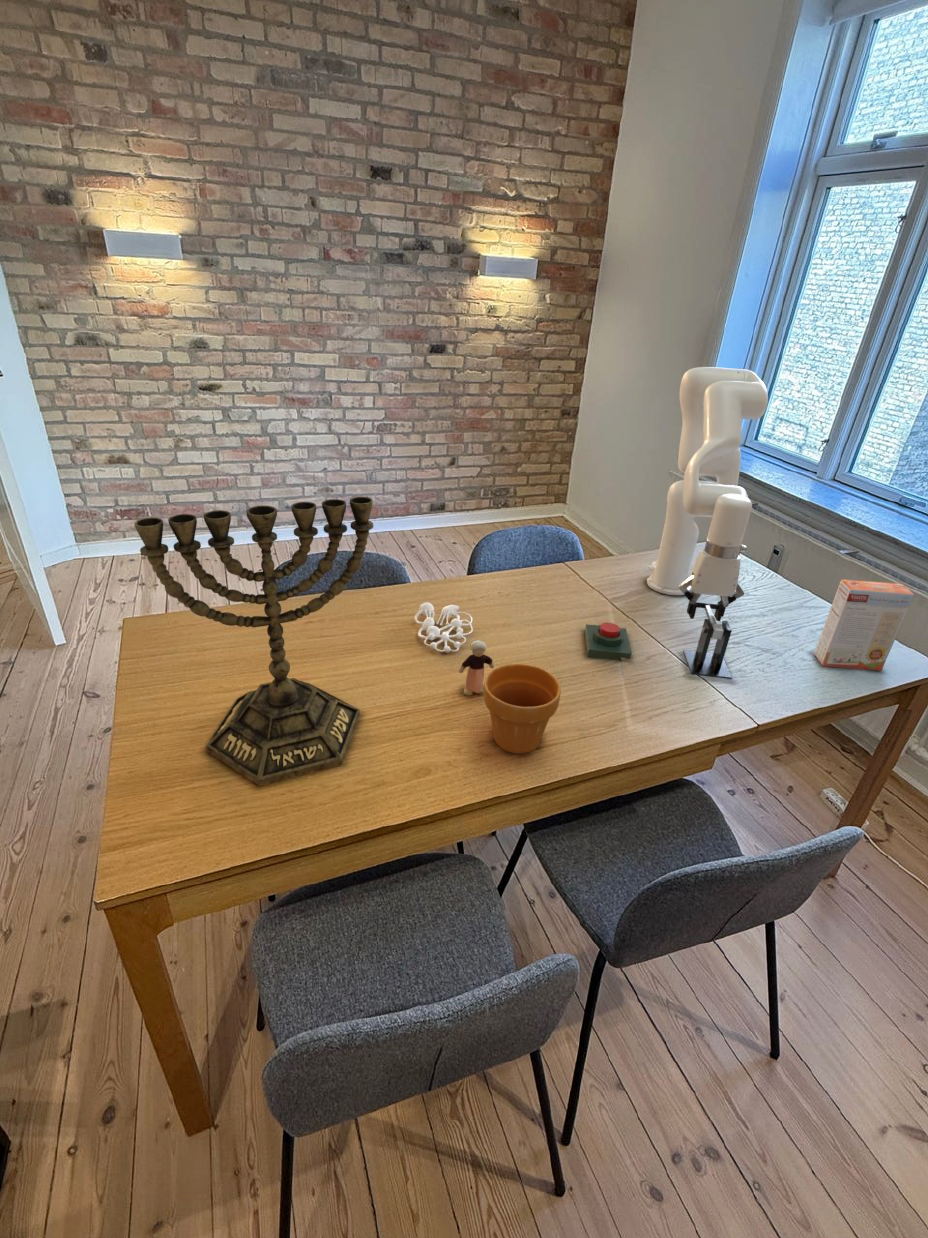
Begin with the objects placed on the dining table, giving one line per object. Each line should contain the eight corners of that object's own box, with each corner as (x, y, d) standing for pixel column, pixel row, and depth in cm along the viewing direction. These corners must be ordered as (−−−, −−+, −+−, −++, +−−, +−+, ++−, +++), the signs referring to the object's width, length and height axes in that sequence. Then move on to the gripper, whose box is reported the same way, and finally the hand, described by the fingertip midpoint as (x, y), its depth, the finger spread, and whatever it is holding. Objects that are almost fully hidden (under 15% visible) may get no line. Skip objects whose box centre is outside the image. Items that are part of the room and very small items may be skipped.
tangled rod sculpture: (474, 659, 150) (477, 645, 148) (413, 654, 149) (414, 639, 147) (469, 617, 167) (472, 603, 165) (414, 611, 165) (416, 598, 163)
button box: (584, 631, 162) (587, 618, 160) (624, 635, 162) (627, 621, 160) (587, 657, 152) (589, 642, 150) (629, 661, 151) (632, 647, 149)
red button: (598, 627, 157) (599, 621, 156) (617, 629, 157) (618, 623, 156) (600, 637, 153) (601, 631, 152) (619, 639, 153) (620, 633, 152)
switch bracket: (682, 654, 155) (693, 611, 149) (720, 658, 154) (733, 615, 149) (690, 677, 146) (702, 633, 141) (730, 682, 146) (744, 637, 140)
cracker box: (870, 658, 158) (903, 582, 147) (881, 672, 152) (917, 594, 142) (812, 653, 158) (840, 577, 148) (821, 666, 153) (852, 589, 143)
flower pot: (468, 724, 128) (472, 670, 121) (530, 709, 133) (537, 657, 127) (499, 771, 117) (505, 715, 110) (566, 753, 122) (575, 698, 115)
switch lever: (693, 607, 156) (695, 598, 155) (716, 609, 156) (718, 601, 154) (703, 637, 145) (706, 629, 144) (728, 640, 145) (731, 631, 143)
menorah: (191, 804, 106) (136, 556, 84) (180, 716, 126) (132, 495, 104) (398, 749, 120) (397, 524, 98) (359, 677, 140) (351, 476, 118)
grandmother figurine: (464, 700, 135) (467, 649, 129) (455, 690, 138) (458, 640, 131) (495, 691, 138) (500, 641, 132) (486, 682, 141) (490, 632, 135)
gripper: (755, 545, 150) (736, 613, 158) (681, 539, 151) (665, 607, 160) (765, 558, 143) (744, 628, 152) (687, 551, 144) (670, 621, 153)
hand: (704, 616), depth 156 cm, fingers closed on switch lever, 5 cm apart
